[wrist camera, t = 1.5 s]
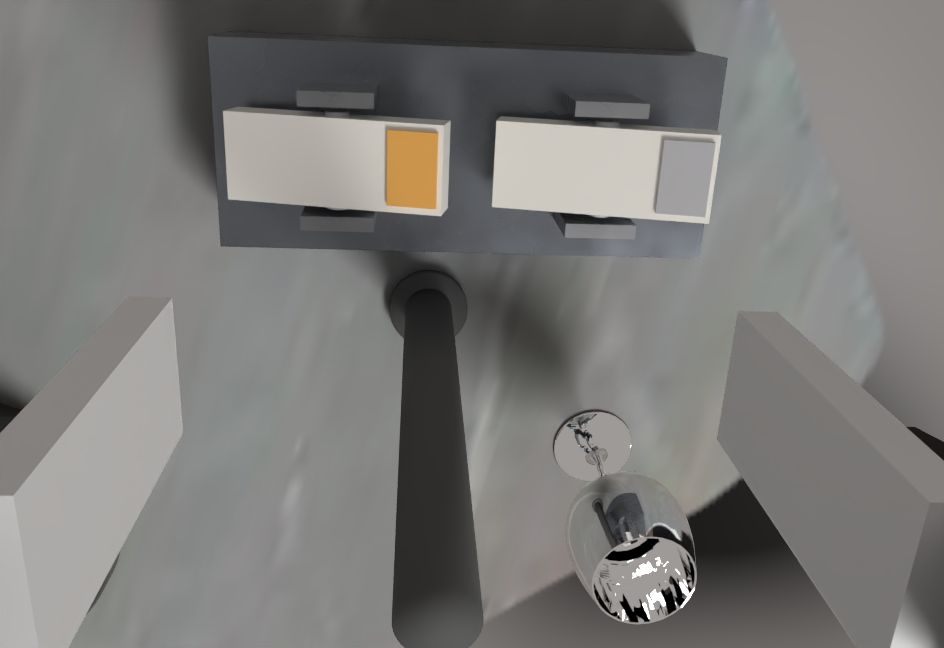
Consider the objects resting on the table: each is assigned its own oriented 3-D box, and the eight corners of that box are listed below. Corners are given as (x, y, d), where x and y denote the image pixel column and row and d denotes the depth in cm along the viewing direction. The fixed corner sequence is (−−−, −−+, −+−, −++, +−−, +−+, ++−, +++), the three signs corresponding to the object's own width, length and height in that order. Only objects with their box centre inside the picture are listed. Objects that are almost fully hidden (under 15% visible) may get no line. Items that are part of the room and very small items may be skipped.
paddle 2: (496, 202, 38) (491, 211, 37) (500, 112, 37) (496, 117, 35) (705, 218, 37) (708, 228, 35) (717, 126, 36) (722, 131, 34)
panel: (239, 221, 43) (204, 267, 36) (229, 31, 40) (188, 40, 33) (672, 233, 45) (721, 279, 37) (696, 51, 41) (754, 63, 34)
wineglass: (555, 393, 48) (597, 516, 36) (654, 409, 48) (726, 535, 37) (532, 482, 50) (565, 626, 38) (628, 496, 50) (687, 641, 39)
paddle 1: (242, 195, 37) (226, 203, 36) (237, 102, 36) (221, 107, 34) (447, 211, 36) (440, 220, 35) (450, 116, 35) (443, 121, 33)
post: (389, 341, 46) (361, 681, 23) (390, 269, 44) (360, 557, 22) (464, 342, 46) (509, 680, 24) (468, 271, 45) (518, 557, 22)
